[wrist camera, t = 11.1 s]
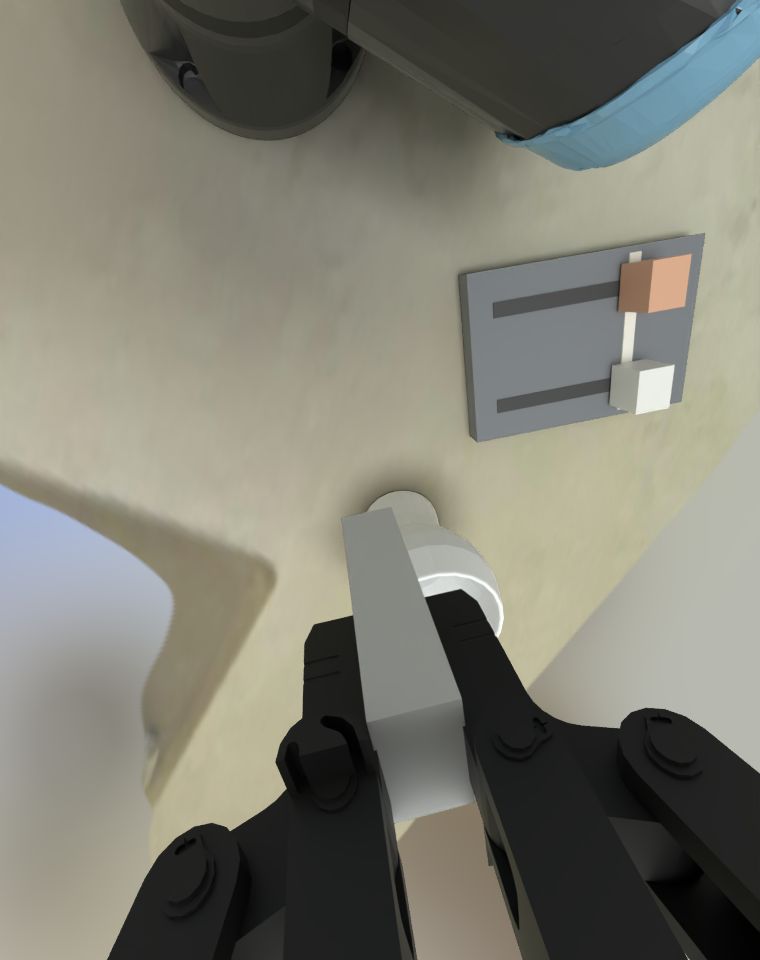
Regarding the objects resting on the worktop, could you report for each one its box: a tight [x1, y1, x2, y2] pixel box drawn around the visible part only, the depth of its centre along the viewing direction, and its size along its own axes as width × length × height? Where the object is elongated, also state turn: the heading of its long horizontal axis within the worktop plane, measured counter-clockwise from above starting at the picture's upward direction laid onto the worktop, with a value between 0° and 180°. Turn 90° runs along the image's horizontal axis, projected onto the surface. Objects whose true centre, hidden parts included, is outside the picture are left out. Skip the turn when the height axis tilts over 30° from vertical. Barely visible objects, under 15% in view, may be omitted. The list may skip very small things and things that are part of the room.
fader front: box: [618, 254, 692, 313], centre depth 33 cm, size 4×3×4 cm
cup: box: [367, 491, 504, 638], centre depth 36 cm, size 11×11×15 cm
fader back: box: [609, 359, 675, 414], centre depth 37 cm, size 4×3×4 cm
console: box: [459, 233, 705, 442], centre depth 37 cm, size 14×20×2 cm
